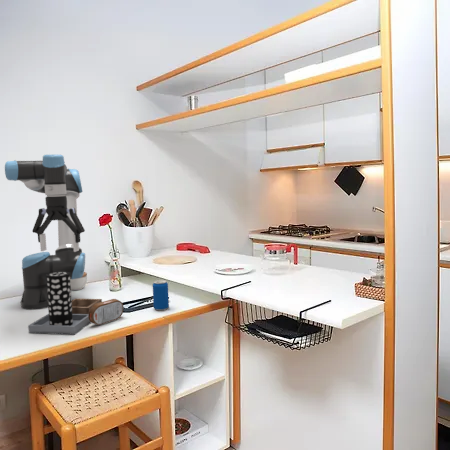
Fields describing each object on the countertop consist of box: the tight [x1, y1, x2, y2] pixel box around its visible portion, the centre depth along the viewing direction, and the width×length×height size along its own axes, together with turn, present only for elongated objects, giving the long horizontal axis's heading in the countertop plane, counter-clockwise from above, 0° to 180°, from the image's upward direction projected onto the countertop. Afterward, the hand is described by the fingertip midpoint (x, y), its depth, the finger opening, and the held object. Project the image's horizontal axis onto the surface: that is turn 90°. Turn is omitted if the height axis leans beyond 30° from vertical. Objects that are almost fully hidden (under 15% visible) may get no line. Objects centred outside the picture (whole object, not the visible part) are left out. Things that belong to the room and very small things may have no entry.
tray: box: [27, 313, 92, 336], centre depth 163 cm, size 18×14×3 cm
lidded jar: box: [70, 271, 88, 291], centre depth 219 cm, size 11×11×9 cm
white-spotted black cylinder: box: [46, 272, 73, 326], centre depth 162 cm, size 8×8×20 cm
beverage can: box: [152, 279, 170, 312], centre depth 182 cm, size 6×6×12 cm
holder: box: [71, 298, 103, 314], centre depth 177 cm, size 12×12×5 cm
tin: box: [88, 298, 124, 326], centre depth 167 cm, size 15×3×8 cm, turn 141°
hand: (59, 250), depth 164 cm, fingers open, 13 cm apart
